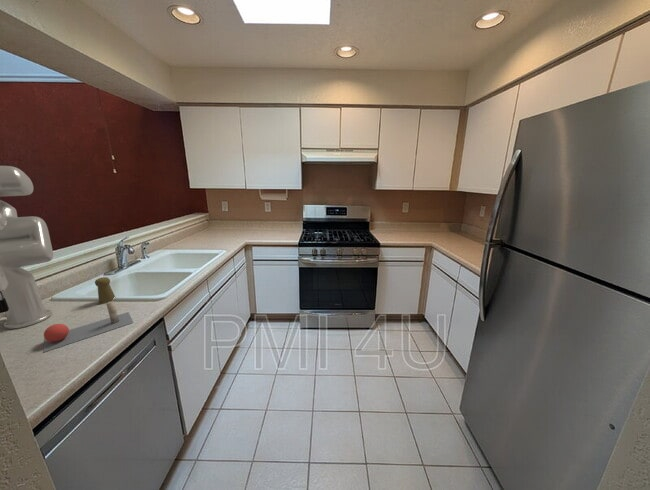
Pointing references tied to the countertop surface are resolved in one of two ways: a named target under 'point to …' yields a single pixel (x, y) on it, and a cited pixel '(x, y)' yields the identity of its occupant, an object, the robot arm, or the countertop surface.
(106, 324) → the plate
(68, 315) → the countertop surface
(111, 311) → the pin
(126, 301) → the countertop surface
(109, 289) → the cork
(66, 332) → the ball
